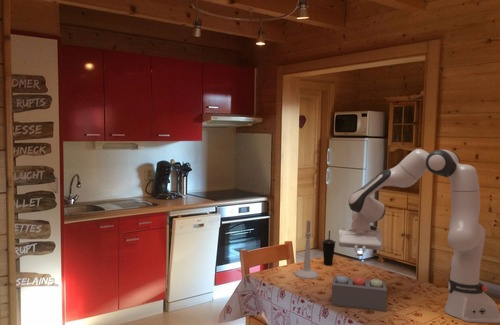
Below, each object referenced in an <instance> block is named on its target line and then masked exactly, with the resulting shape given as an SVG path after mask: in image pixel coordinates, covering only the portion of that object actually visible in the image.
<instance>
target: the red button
mask: <svg viewBox="0 0 500 325" xmlns="http://www.w3.org/2000/svg"><path fill="white" fill-rule="evenodd" d="M353 279H354V283H353V285H361V286H364V285H365V280H366V278H365V277H360V276H358V277H357V276H356V277H353Z"/></svg>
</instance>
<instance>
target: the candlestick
mask: <svg viewBox="0 0 500 325" xmlns="http://www.w3.org/2000/svg"><path fill="white" fill-rule="evenodd" d="M304 234H305V238H306V239H305V247H304V248H305V250H304V260H303V268H302V269H298V270H296V271H295V272H294V276H295V277H297V278H299V279H304V280H313V279H317V278H319V273H318V272H317V271H315V270H313V269H311V243H310V242H311V239H310V237H311V235H312V232H311V220H308V219H307V220H306V231H305V232H304Z"/></svg>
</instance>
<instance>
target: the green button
mask: <svg viewBox="0 0 500 325" xmlns="http://www.w3.org/2000/svg"><path fill="white" fill-rule="evenodd" d="M370 280H371V287H380V288H382V282H383V280H381V279H379V278H372V279H370Z"/></svg>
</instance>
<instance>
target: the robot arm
mask: <svg viewBox="0 0 500 325" xmlns="http://www.w3.org/2000/svg"><path fill="white" fill-rule="evenodd" d="M428 171H429V172H430V173H432V174H434V175H436V176H440V177H442V178H443V177H444V178H448V179H449V183H450V202H451V204H450V206H451V207H450V208H451V211H450V218H449V228H448V234H447V243H448V245H449V246H450V248H452V249H453V254H452V257H451V260H450V276H449V279H448V290H447V291H448V295H447V300H446V304H445V306H444V309H443V311H444V312H445V313H446V314H448V315H449V316H452V317H455V318H457V319H460V320H462V321H464V322H467V323H481V324H483V323H484V324H500V312H499V309H498V306H497V303H496V301H495V300H494V299H492V298H491V297H490V296H489V295H487V293H485V292H487V291H488V290H489V289H488V286H486V285H484V284H483V283H481V282H480V271H481V262H482V256H483V251H484V246H485V239H486V238H485V237H486V230H485V228H484V227H483V226H482V225H481V224H480V223H479V220H480V212H481V192H480V191H481V190H480V181H479V176H478V172H477V171H478V170H477V169H476V168H475V167H474V166H473V165H470V164H462V163H461V160H460V157H459V156H458V154H457V153H456V152H454V151H453V150H447V149H436V150H433V151H431V152H430V153H429V152H428V151H426V150H425V149H423V148H416V149H414V150H412V151H411V152H410V153H409V154H407V155H406V156H405V157H404V158H402V160H401V161H400V162H399V163H397V165H396V166H393V167H392V168H389V169H384V170H382V171H381V172H379V173H378V174H377V175H376V176H374V177H373V178H372V179H371V180H370V181H368V182H367V183H366V184H364V185H363V186H362V187H361V188H360V189H358V190H356V191H354V192H353V193H351V195H350V196H349V198H348V206H349V208H350V211H351V227H350V228H351V229H349V228H348V229H347V228H341V229H340V230H338V237H339V238H338V247H340V248H341V247H342V248H353V249H354V251H355V253H356V256H357V257H359V256H360V257H363V256H364V253H365V252H366V250H374V251H375V250H376V251H381V250H382V249H383V239H382V238H383V237H382V235H381V233H380V228H379V227H378V226H374V225H371V224H372V223H373V224H374V223H376V222H379V221H380V220H383V218H384V216H385V214H386V206H385V204H384V203H382V202H381V201H379V200H378V199H376V198H373V197H372V196H373V194H375V193H376V192H377V191H378V190H379V189H381V188H383V187H398V188H410V187H412V186H413V185H414V184H416V183H417V181H419V179H421V177H422V176H423V175H424V174H425V173H426V172H427V173H428ZM359 249H362V250H359Z"/></svg>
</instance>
